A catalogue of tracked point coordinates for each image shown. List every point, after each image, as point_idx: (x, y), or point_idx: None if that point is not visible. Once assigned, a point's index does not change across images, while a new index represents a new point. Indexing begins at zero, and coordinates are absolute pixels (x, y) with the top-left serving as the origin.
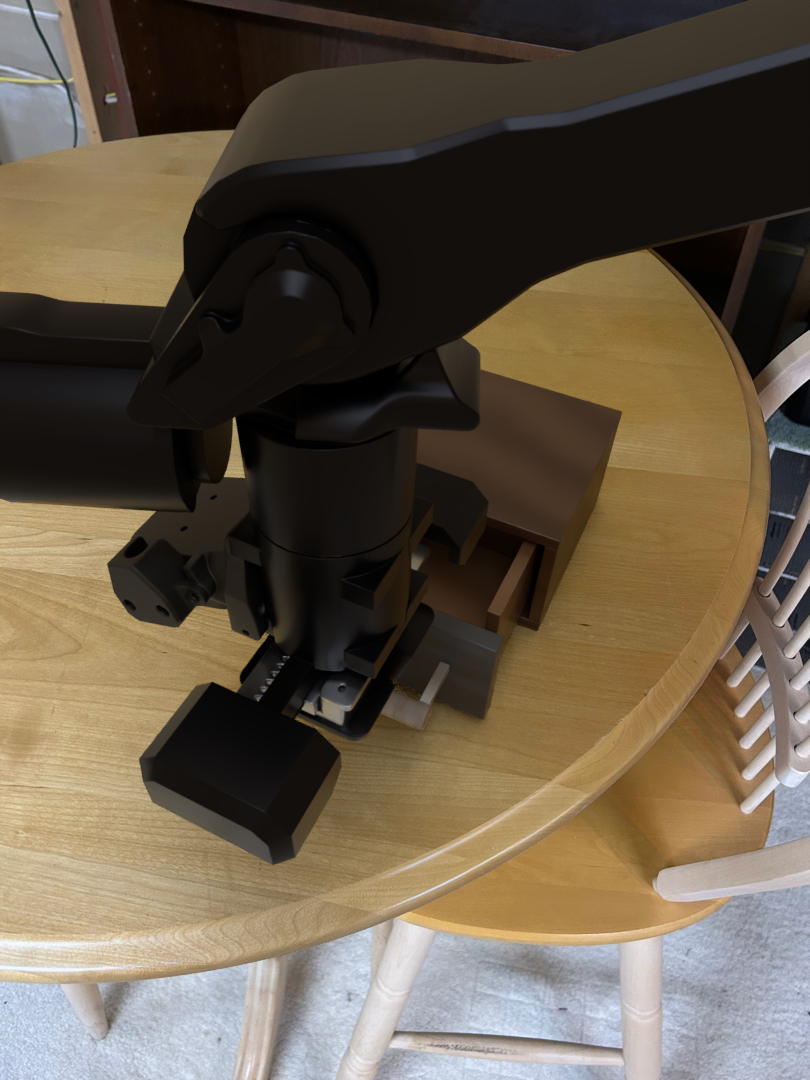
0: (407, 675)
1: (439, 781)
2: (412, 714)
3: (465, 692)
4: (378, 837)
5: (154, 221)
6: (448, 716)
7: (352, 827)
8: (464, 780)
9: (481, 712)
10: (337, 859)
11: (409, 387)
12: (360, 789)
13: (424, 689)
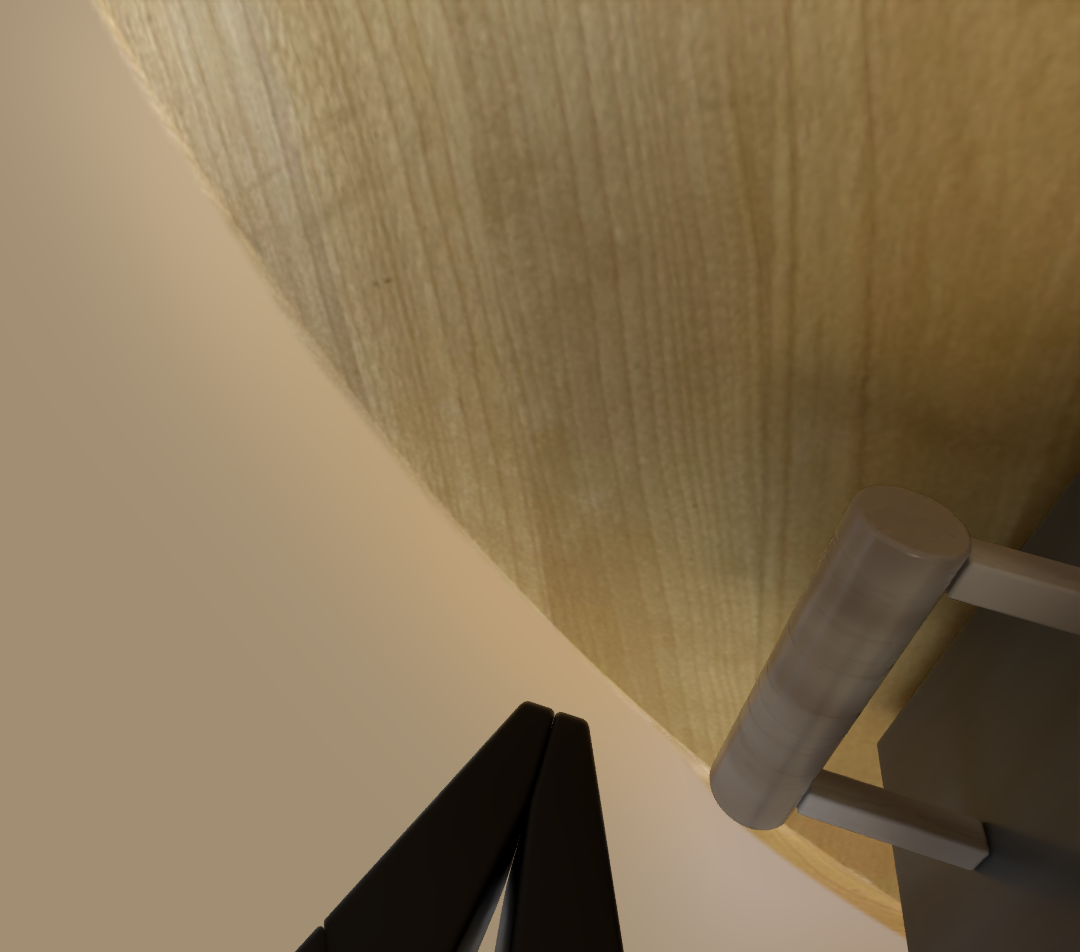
0: (1009, 640)
1: (708, 630)
2: (737, 791)
3: (918, 794)
4: (541, 526)
5: None
6: (905, 648)
7: (546, 471)
8: (720, 673)
9: (882, 769)
10: (464, 452)
11: None
12: (647, 475)
13: (966, 653)
